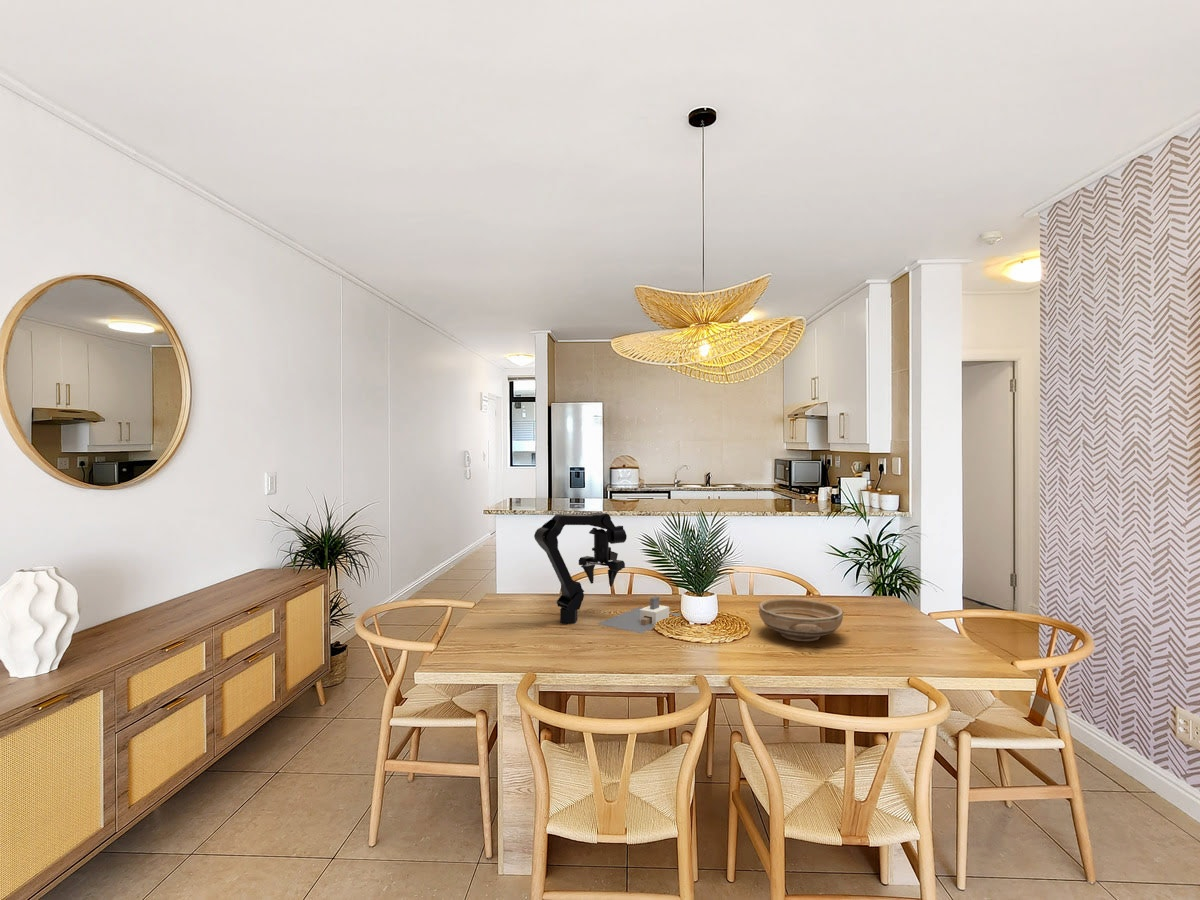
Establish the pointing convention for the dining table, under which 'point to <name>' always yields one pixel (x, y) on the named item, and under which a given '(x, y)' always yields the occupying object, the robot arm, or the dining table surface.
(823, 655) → the dining table surface
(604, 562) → the robot arm
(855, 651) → the dining table surface
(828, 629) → the ceramic bowl
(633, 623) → the cleat board
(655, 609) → the cabinet block
